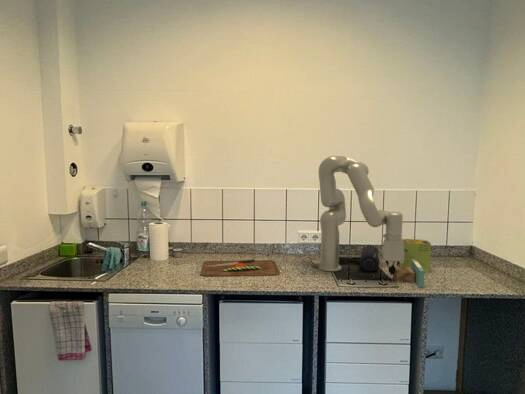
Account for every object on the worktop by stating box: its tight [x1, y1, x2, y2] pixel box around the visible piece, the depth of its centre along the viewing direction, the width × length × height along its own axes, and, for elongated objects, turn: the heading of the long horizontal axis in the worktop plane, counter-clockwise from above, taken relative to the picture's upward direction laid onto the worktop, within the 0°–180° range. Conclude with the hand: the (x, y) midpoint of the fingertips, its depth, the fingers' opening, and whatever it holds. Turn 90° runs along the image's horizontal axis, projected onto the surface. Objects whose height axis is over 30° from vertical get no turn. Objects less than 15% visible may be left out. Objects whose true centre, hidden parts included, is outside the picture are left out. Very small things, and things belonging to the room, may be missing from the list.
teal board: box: [411, 259, 425, 289], centre depth 193 cm, size 2×20×8 cm, turn 170°
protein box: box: [396, 238, 432, 274], centre depth 212 cm, size 10×15×16 cm
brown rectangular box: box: [393, 266, 415, 284], centre depth 196 cm, size 8×10×5 cm
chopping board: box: [195, 258, 285, 278], centre depth 211 cm, size 45×27×3 cm, turn 95°
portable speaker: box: [359, 245, 381, 272], centre depth 217 cm, size 25×10×10 cm, turn 163°
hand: (391, 274), depth 195 cm, fingers closed
